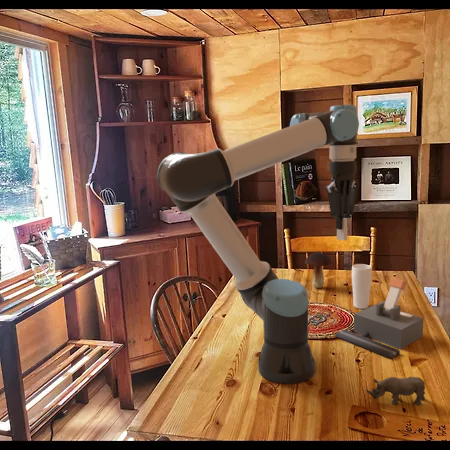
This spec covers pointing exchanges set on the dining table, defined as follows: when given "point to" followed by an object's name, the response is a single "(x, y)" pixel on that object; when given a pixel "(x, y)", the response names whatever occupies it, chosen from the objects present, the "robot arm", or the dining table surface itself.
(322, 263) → the decorative mushroom
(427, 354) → the dining table surface
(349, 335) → the cable bundle
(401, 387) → the rhino figurine
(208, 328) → the dining table surface
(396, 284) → the toggle lever
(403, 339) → the switch block
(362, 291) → the tall cup
